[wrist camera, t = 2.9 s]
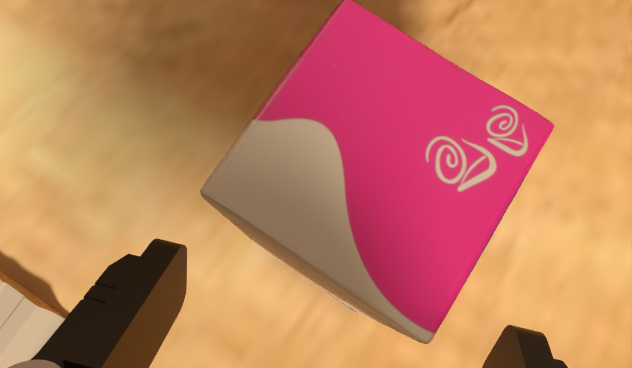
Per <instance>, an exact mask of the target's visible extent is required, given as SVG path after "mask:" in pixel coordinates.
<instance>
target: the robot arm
mask: <svg viewBox="0 0 632 368" xmlns="http://www.w3.org/2000/svg"><path fill="white" fill-rule="evenodd" d="M186 284H187V248H186V246H185V245H182V244H177V243H173V242H169V241H165V240H161V239H154V240H153V241H152V242H151V243H150V244H149V246H148V247H147V248H146V250H145V251H144V252H143V254H142V255H141V256H135V255H131V254H128V255H126V256H124V257H123V258H121V259H119V260H118V261H116V262H115V263H113V264H111V265H110V266H108V268H107V269H106V270H105V271H104V273H103V274H102V275H101V276H100V277H99V279H98V280H97V281H96V282H95V285H94V286H92V287H91V288H90V290H89V291H88V292H87V293H86V294H85V296H84V299H83V300H81V301H80V302H79V303H78V304H77V305H76V307H75V308H74V309H73V310H72V312H71V313H70V314H69V315H68V316H67V318H66V319H65V320H64V321H63V322H62V324H61V325H60V326H59V327H58V329H57V330H56V331H55V332H54V333H53V335H52V336H51V337H50V338H49V339H48V341H47V342H46V343H45V344H44V346H43V347H42V348H41V349H40V350H39V352H38V353H37V354H36V355H35V356H34V357H33V358H32V359H30V360H28V361H24V362H20V363H17V364H15V365H12V366H10V367H8V368H149V366H150V365H151V363H152V361H153V359H154V357H155V356H156V354H157V352H158V350H159V348H160V346H161V345H162V343H163V341H164V339H165V337H166V336H167V334H168V332H169V330H170V328H171V327H172V325H173V323H174V321H175V319H176V318H177V316H178V314H179V312H180V310H181V307H182V305H183V302H184V299H185V294H186ZM482 368H568V367H567V366H566V365H565V363H564V362H563V361H561V360H557V359H553V356H552V353H551V350H550V347H549V344H548V341H547V339H546V337H545V335H544V334H543V333H541V332H537V331H533V330H529V329H525V328H520V327H516V326H512V325H508V326H507V327H506V328H505V329H504V330H503V332H502V334H501V335H500V337H499V339H498V340H497V342H496V344H495V345H494V347H493V349H492V350H491V352H490V354H489V355H488V357H487V359H486V360H485V362H484V364H483V367H482Z"/></svg>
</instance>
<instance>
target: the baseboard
mask: <svg viewBox="0 0 632 368" xmlns="http://www.w3.org/2000/svg"><path fill="white" fill-rule="evenodd" d="M65 319H66V317H65V316H63V315H62V314H60V313H59V312H58V311H56V310H55V309H53V308H52V307H51V306H49V305H48V304H46V303H45V302H44V301H42V300H41V299H39V298H38V297H37V296H35V295H34V294H32V293H31V292H30V291H28V290H27V289H25V288H24V287H23V286H21V285H20V284H18V283H17V282H16V281H14V280H13V279H11V278H10V277H9V276H7V275H6V274H4V273H3V272H2V271H0V368H8V367H10V366H12V365H15V364H17V363H20V362H24V361H28V360H30V359H32V358H33V357H34V356H35V355H36V354H37V353H38V352H39V350H40V349H41V348H42V347H43V346H44V344H45V343H46V342H47V341H48V339H49V338H50V337H51V336H52V335H53V333H54V332H55V331H56V330H57V329H58V327H59V326H60V325H61V324H62V322H63V321H64V320H65Z"/></svg>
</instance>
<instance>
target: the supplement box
mask: <svg viewBox="0 0 632 368" xmlns="http://www.w3.org/2000/svg"><path fill="white" fill-rule="evenodd" d="M553 128H554V124H553V123H552V122H550V121H549V120H547V119H546V118H545V117H543V116H541V115H540V114H538V113H537V112H535V111H534V110H532V109H530V108H528V107H527V106H525V105H524V104H522V103H520V102H518V101H517V100H515V99H514V98H512V97H510V96H509V95H507V94H505V93H503V92H502V91H500V90H498V89H496V88H495V87H493V86H491V85H489V84H487V83H486V82H484V81H482V80H480V79H478V78H477V77H475V76H473V75H472V74H470V73H468V72H467V71H465V70H463V69H462V68H460V67H458V66H457V65H455V64H453V63H452V62H450V61H449V60H447V59H445V58H444V57H442V56H440V55H439V54H437V53H436V52H434V51H433V50H431V49H429V48H428V47H426V46H425V45H423V44H421V43H420V42H418V41H417V40H415V39H413V38H412V37H410V36H409V35H407V34H405V33H404V32H402V31H401V30H399V29H397V28H396V27H394V26H393V25H391V24H389V23H388V22H386V21H385V20H383V19H382V18H380V17H378V16H377V15H375V14H374V13H372V12H370V11H369V10H367V9H366V8H364V7H362V6H361V5H359V4H358V3H356V2H354V1H353V0H343V1H342V2H341V3H340V4H339V5H338V6H337V7H336V8H335V10H334V11H333V12H332V13H331V15H330V16H329V17H328V19H327V20H326V21H325V23H324V24H323V25H322V26H321V28H320V29H319V30H318V32H317V33H316V34H315V35H314V37H313V38H312V39H311V41H310V42H309V43H308V45H307V46H306V47H305V49H304V50H303V51H302V53H301V54H300V55H299V57H298V58H297V59H296V60H295V62H294V63H293V64H292V65H291V67H290V68H289V69H288V71H287V72H286V74H285V75H284V77H283V78H282V79H281V80H280V82H279V83H278V84H277V86H276V87H275V89H274V90H273V91H272V93H271V94H270V95H269V97H268V98H267V99H266V101H265V102H264V103H263V105H262V106H261V107H260V109H259V110H258V112H257V113H256V114H255V116H254V117H253V118H252V120H251V121H250V123H249V124H248V125H247V126H246V127H245V129H244V130H243V132H242V133H241V135H240V136H239V138H238V139H237V140H236V141H235V143H234V144H233V145H232V147H231V148H230V150H229V151H228V153H227V154H226V156H225V157H224V158H223V159H222V161H221V162H220V163H219V164H218V166H217V167H216V169H215V170H214V171H213V173H212V174H211V175H210V177H209V178H208V180H207V181H206V182H205V184H204V185H203V187H202V189H201V190H200V192H201V196H202V197H203V198H204V199H205V200H206V201H207V202H209V203H210V204H211V205H212V206H213V207H214V208H215V209H217V210H218V211H219V212H220V213H222V214H223V215H224V216H225V217H226V218H227V219H228V220H230V221H231V222H232V223H233V224H234V225H236V226H237V227H238V228H239V229H240V230H241V231H242V232H243V233H245V234H246V235H247V236H248V237H249V238H250V239H251V240H253V241H254V242H255V243H257V244H258V245H259V246H261V247H262V248H264V249H265V250H266V251H268V252H269V253H271V254H272V255H273V256H275V257H276V258H278V259H279V260H281V261H282V262H283V263H285V264H286V265H288V266H289V267H290V268H292V269H293V270H295V271H296V272H298V273H299V274H301V275H302V276H304V277H305V278H307V279H308V280H309V281H311V282H312V283H314V284H315V285H317V286H318V287H320V288H321V289H323V290H324V291H325V292H327V293H328V294H330V295H331V296H333V297H334V298H336V299H337V300H339V301H340V302H342V303H343V304H345V305H346V306H348V307H349V308H351V309H352V310H354V311H355V312H358V313H361V314H363V315H365V316H367V317H369V318H371V319H373V320H375V321H378V322H380V323H382V324H384V325H386V326H388V327H390V328H392V329H394V330H396V331H398V332H400V333H402V334H404V335H406V336H408V337H410V338H412V339H414V340H416V341H418V342H421V343H424V344H428V343H429V342H430V341H431V340H432V339H433V337H434V335H435V333H436V332H437V330H438V328H439V327H440V325H441V323H442V322H443V320H444V318H445V317H446V315H447V313H448V312H449V310H450V308H451V306H452V305H453V303H454V301H455V299H456V298H457V296H458V294H459V292H460V291H461V289H462V287H463V285H464V284H465V282H466V280H467V278H468V277H469V275H470V273H471V271H472V270H473V268H474V266H475V265H476V263H477V261H478V259H479V258H480V256H481V254H482V252H483V251H484V249H485V247H486V245H487V244H488V242H489V240H490V239H491V237H492V235H493V233H494V231H495V230H496V228H497V226H498V224H499V223H500V221H501V219H502V217H503V215H504V214H505V212H506V210H507V208H508V207H509V205H510V203H511V202H512V200H513V198H514V197H515V195H516V193H517V191H518V189H519V188H520V186H521V184H522V182H523V180H524V179H525V177H526V175H527V173H528V172H529V170H530V168H531V166H532V165H533V163H534V161H535V159H536V157H537V156H538V154H539V152H540V151H541V149H542V147H543V146H544V144H545V142H546V141H547V139H548V137H549V135H550V134H551V132H552V130H553Z"/></svg>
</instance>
